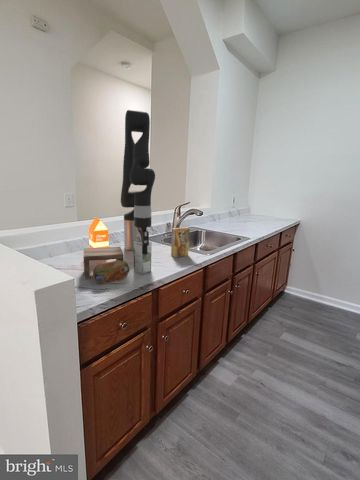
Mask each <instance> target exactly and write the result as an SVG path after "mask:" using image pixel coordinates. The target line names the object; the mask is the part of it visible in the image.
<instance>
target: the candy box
mask: <svg viewBox="0 0 360 480" xmlns="http://www.w3.org/2000/svg"><path fill="white" fill-rule="evenodd" d="M189 242H190V228H189V227H186V226H184V227H183V226H182V227H173V228H171V245H170V246H171V247H170V248H171V249H170V250H171V251H170V252H171V253H170V255H171V256H172V257H173V258H178V257H179V258H180V257H185V256H189V246H190V245H189V244H190V243H189Z"/></svg>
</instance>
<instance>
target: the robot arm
mask: <svg viewBox="0 0 360 480" xmlns="http://www.w3.org/2000/svg"><path fill="white" fill-rule="evenodd" d="M124 117H125V118H124V150H123V151H124V152H123V154H124V155H123V165H122V166H123V167H122V185H121V193H120V204H121V206H122V207H123V208H127V209H129V208H133V209H132V210H131V211H128V212H126V213H124V214H123V229H124V230H123V232H124V233H123V234H124V235H123V236H124V237H123V238H124V239H123V240H124V250H127V251H134V241H137V240H140V241H141V242H142V254H143V255H144V254H147V246H149V241H150V240H149V239H150V235H149V234H150V232H149V231H148V228H151V227H152V206H151V205H152V202H151V201H152V190H153V187H154V183H155V180H156V173H155V170H154V169H152V168H148V167H149V166H150V161H151V160H150V150H149V149H150V148H149V144H150V132H151V131H150V129H151V127H150V125H151V122H150V121H151V118H150V114H149V113H148V111H143V110H135V109H127V110H126V112H125V116H124ZM133 132H134V133H142V134H141V136H140V137H139V139H138V140H137V141H136V142H135V141H134V138H133ZM131 185H134V186H146V187H145V188H144V189H142V190H130V188H131ZM144 241H146V243H144Z"/></svg>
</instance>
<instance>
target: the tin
mask: <svg viewBox="0 0 360 480" xmlns="http://www.w3.org/2000/svg"><path fill="white" fill-rule="evenodd" d="M129 272H130V266H129V263H127V261H125V260H123V261H122V260H116V259H114V260H110V261H104V262H100V263H98V264H96V265H95V267H94V268H93V270H92V277H93V279H94V280H95V282H96V283H98V284H100V285H105V284H109V283H113V282H117V281H122V280H124V279H126V278H127V277H128V275H129Z"/></svg>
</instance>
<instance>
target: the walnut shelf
mask: <svg viewBox="0 0 360 480" xmlns="http://www.w3.org/2000/svg"><path fill="white" fill-rule="evenodd" d="M107 260H110V261H112V260H122V261H124V252H123V249H122V247H121V246H109V247H104V248H90V247H89V248H87V247H86V248H83V269H84V270H83V271H84V272H83V273H84V280H90V279H91V271H90V270H91V269H90V262H93V261H107Z"/></svg>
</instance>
